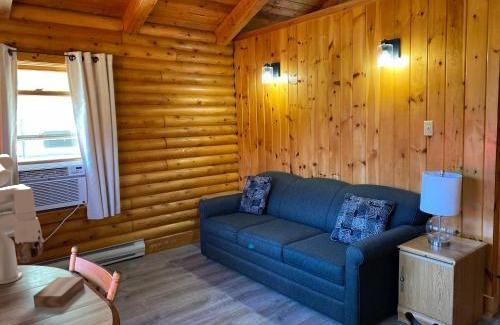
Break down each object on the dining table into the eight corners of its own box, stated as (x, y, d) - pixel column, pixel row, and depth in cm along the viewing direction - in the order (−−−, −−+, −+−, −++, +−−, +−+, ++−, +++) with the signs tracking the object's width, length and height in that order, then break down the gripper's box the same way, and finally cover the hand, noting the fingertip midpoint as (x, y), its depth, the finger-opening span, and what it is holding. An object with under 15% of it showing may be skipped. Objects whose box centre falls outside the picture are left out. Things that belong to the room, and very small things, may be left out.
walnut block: (34, 307, 166) (33, 296, 165) (59, 287, 184) (58, 277, 183) (62, 307, 165) (60, 296, 164) (84, 287, 182) (83, 277, 182)
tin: (23, 265, 169) (21, 246, 168) (16, 265, 170) (14, 246, 168) (45, 252, 184) (43, 235, 183) (38, 252, 184) (36, 234, 183)
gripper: (2, 218, 171) (8, 259, 174) (38, 217, 169) (43, 259, 172) (14, 213, 179) (20, 253, 181) (48, 212, 177) (53, 253, 179)
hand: (31, 256), depth 177 cm, fingers closed on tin, 2 cm apart
